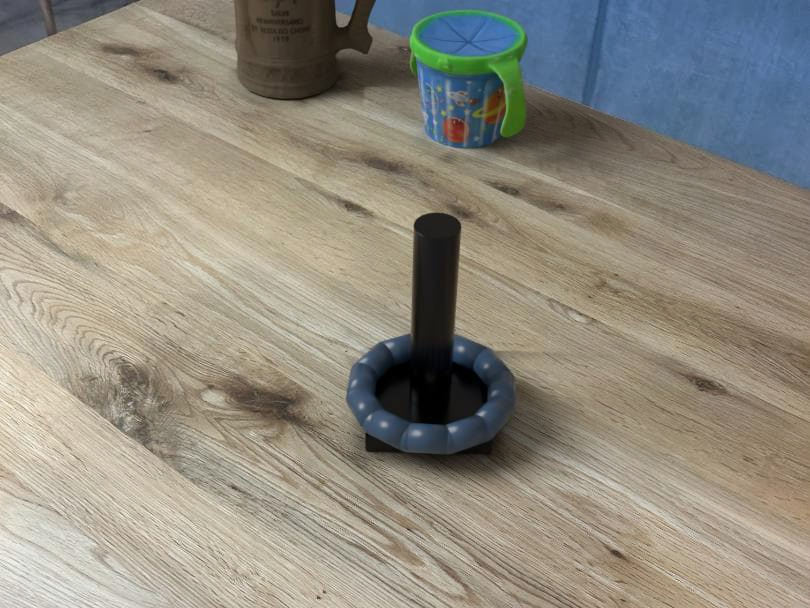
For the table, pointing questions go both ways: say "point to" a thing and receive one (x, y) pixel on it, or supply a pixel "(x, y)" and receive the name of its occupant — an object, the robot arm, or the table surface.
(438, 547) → the table surface
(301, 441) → the table surface
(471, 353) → the ring
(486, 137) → the snack cup
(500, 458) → the table surface
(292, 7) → the beer stein
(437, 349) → the post
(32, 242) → the table surface
